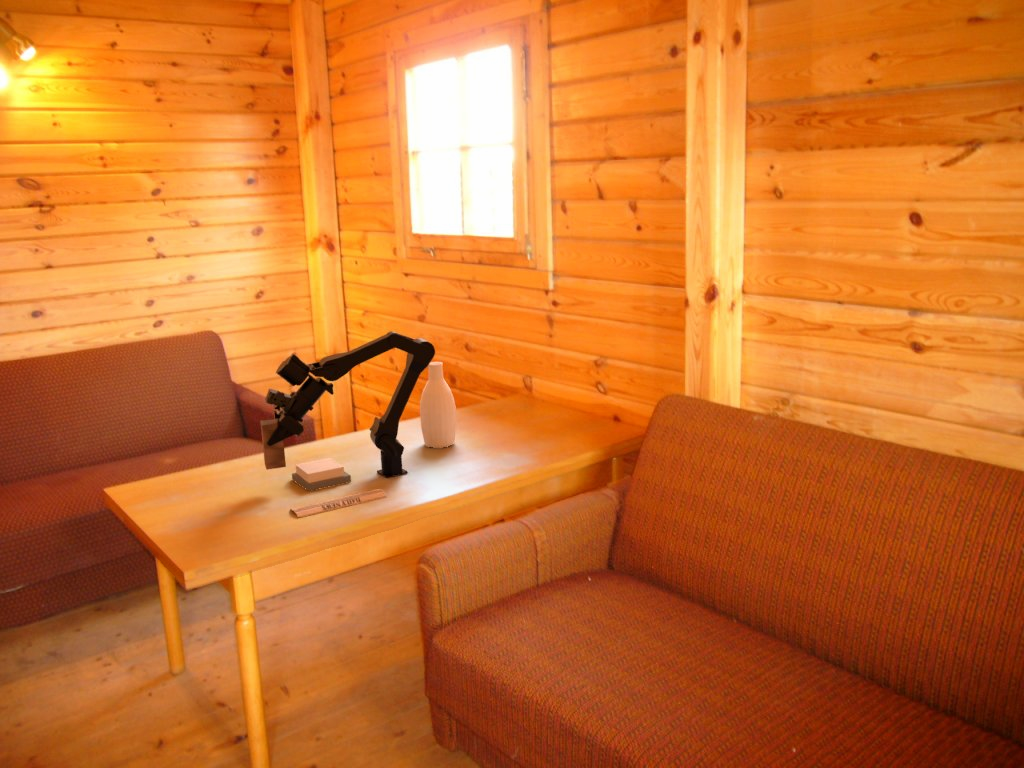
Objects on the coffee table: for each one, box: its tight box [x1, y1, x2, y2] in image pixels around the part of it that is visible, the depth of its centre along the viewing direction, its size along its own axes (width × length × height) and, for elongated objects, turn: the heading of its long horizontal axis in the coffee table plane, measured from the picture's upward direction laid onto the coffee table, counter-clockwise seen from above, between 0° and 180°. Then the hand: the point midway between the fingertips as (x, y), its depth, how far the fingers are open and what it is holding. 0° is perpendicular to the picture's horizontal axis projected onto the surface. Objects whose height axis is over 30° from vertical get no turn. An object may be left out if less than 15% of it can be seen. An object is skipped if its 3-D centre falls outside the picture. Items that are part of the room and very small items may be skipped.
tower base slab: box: [291, 471, 352, 492], centre depth 242 cm, size 12×12×2 cm
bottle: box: [419, 361, 457, 449], centre depth 269 cm, size 11×11×25 cm
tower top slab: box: [295, 457, 345, 483], centre depth 241 cm, size 10×10×2 cm
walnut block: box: [259, 418, 287, 471], centre depth 234 cm, size 5×5×12 cm
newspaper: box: [289, 488, 387, 518], centre depth 224 cm, size 24×7×2 cm, turn 123°
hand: (267, 442), depth 233 cm, fingers closed on walnut block, 5 cm apart
